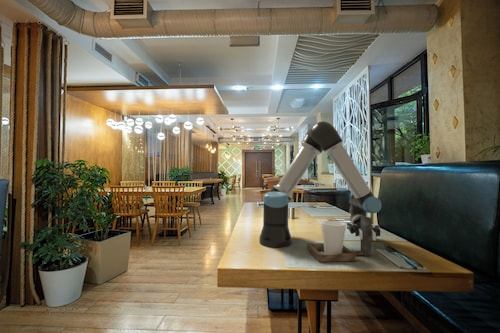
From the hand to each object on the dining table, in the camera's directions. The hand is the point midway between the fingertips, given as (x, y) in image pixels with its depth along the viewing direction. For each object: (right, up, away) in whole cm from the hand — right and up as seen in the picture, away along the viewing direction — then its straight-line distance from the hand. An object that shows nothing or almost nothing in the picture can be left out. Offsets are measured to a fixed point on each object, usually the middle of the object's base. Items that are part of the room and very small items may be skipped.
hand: (368, 236), depth 94 cm
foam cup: (-12, -9, +4) cm, 16 cm away
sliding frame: (-9, -9, +4) cm, 13 cm away
